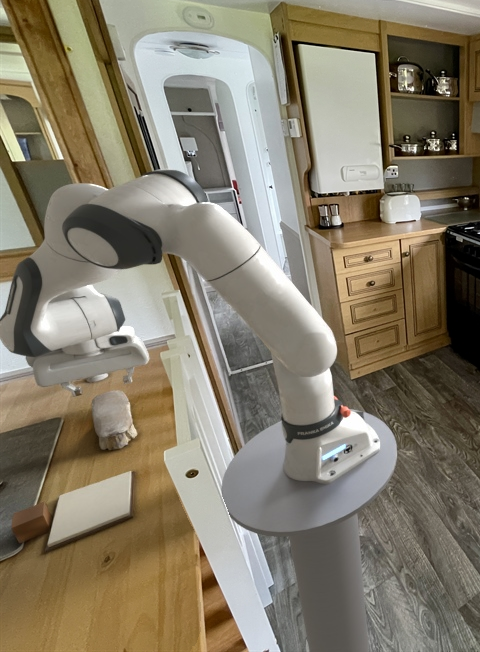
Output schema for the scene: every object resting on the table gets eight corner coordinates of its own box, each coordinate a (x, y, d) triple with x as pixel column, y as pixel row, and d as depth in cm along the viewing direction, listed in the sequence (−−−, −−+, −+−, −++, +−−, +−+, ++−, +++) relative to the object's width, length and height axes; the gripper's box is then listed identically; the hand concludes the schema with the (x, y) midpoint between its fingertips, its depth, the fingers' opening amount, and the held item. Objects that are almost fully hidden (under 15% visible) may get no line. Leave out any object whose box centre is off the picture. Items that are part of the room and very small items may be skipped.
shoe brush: (142, 441, 94) (136, 424, 92) (101, 456, 89) (95, 439, 87) (128, 399, 109) (123, 384, 107) (93, 409, 104) (87, 394, 102)
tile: (134, 472, 85) (133, 468, 84) (133, 517, 75) (131, 512, 74) (59, 499, 78) (56, 494, 77) (45, 552, 67) (43, 547, 67)
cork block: (51, 516, 74) (44, 501, 73) (51, 530, 71) (43, 514, 70) (21, 529, 71) (13, 513, 70) (19, 543, 69) (10, 528, 67)
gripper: (18, 357, 82) (42, 409, 87) (140, 334, 94) (154, 381, 99) (25, 345, 86) (47, 396, 91) (140, 325, 98) (154, 371, 103)
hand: (104, 388), depth 95 cm, fingers open, 8 cm apart
